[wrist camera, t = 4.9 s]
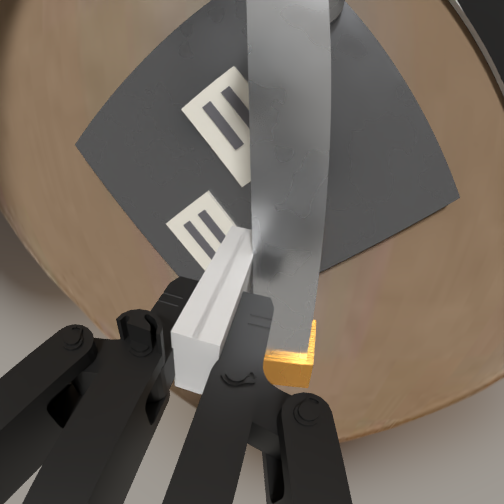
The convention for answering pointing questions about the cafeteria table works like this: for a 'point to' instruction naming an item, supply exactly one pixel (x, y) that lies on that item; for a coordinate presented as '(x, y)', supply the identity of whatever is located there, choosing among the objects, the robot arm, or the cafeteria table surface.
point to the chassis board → (239, 198)
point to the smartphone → (486, 30)
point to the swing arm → (289, 171)
